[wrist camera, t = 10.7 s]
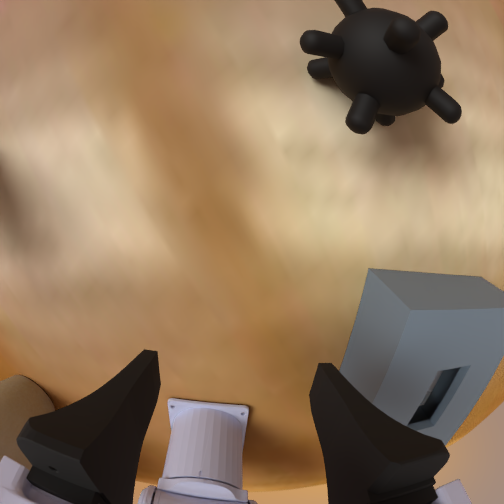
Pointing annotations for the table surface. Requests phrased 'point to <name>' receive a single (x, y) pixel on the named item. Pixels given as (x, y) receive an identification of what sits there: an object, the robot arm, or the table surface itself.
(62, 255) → the table surface
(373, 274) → the grey square hole block
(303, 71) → the table surface
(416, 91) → the toy ball
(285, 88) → the table surface
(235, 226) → the table surface
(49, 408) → the plant pot
